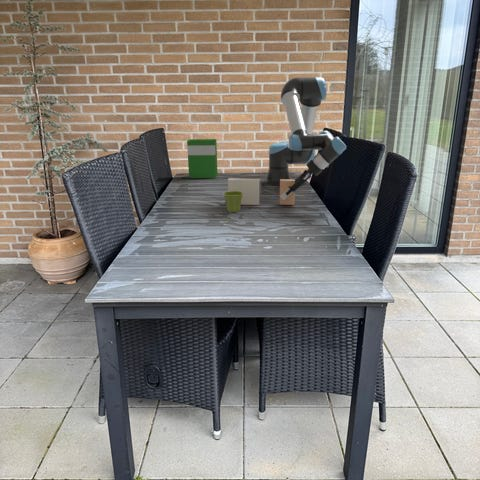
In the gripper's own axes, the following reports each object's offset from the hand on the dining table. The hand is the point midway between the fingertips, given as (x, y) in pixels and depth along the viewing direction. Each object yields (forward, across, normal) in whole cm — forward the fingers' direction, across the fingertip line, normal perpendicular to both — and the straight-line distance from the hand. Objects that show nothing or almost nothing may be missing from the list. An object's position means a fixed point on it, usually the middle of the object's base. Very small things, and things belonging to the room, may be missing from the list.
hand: (282, 197), depth 222 cm
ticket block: (+16, 0, +11) cm, 19 cm away
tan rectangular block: (+1, 0, -4) cm, 4 cm away
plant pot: (+18, -14, +13) cm, 26 cm away
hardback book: (+43, +63, +37) cm, 85 cm away
